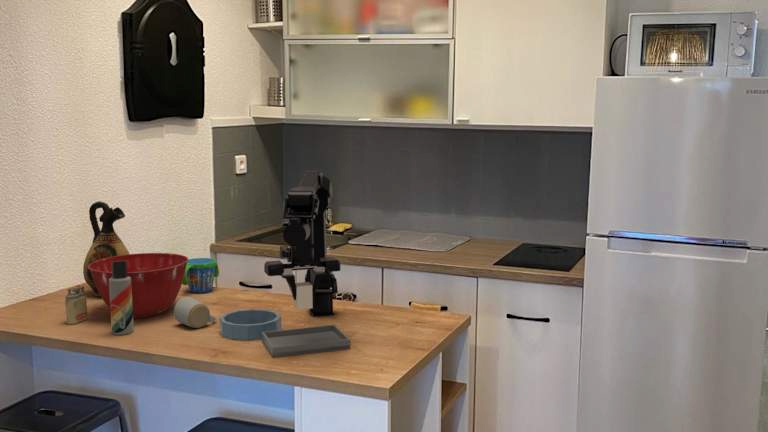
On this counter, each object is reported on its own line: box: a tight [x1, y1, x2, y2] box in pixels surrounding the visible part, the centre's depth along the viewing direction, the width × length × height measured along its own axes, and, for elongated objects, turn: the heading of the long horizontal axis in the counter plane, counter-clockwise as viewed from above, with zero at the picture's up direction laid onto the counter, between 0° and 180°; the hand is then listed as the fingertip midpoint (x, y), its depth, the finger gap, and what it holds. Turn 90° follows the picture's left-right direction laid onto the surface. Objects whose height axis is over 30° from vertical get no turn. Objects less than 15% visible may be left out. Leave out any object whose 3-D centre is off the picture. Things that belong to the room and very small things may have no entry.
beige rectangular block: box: [293, 281, 313, 310], centre depth 207 cm, size 4×4×6 cm
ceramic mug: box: [173, 296, 217, 329], centre depth 227 cm, size 11×8×8 cm
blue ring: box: [219, 308, 282, 341], centre depth 221 cm, size 16×16×4 cm
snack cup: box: [182, 257, 220, 294], centre depth 265 cm, size 16×10×10 cm
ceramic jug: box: [82, 200, 130, 298], centre depth 261 cm, size 17×15×30 cm
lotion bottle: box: [109, 261, 134, 336], centre depth 219 cm, size 6×6×20 cm
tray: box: [261, 324, 351, 358], centre depth 209 cm, size 20×14×2 cm
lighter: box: [64, 284, 88, 325], centre depth 230 cm, size 7×4×10 cm, turn 163°
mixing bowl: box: [88, 252, 189, 319], centre depth 240 cm, size 28×28×15 cm
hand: (303, 299), depth 207 cm, fingers closed on beige rectangular block, 4 cm apart
